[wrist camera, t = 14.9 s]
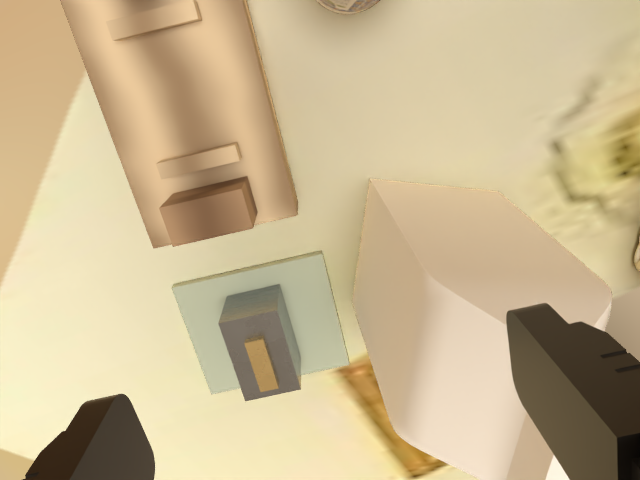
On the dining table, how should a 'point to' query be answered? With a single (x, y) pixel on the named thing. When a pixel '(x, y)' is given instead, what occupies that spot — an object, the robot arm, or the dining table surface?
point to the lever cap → (261, 342)
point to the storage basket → (637, 257)
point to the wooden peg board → (187, 113)
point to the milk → (461, 320)
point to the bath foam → (347, 5)
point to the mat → (301, 301)
